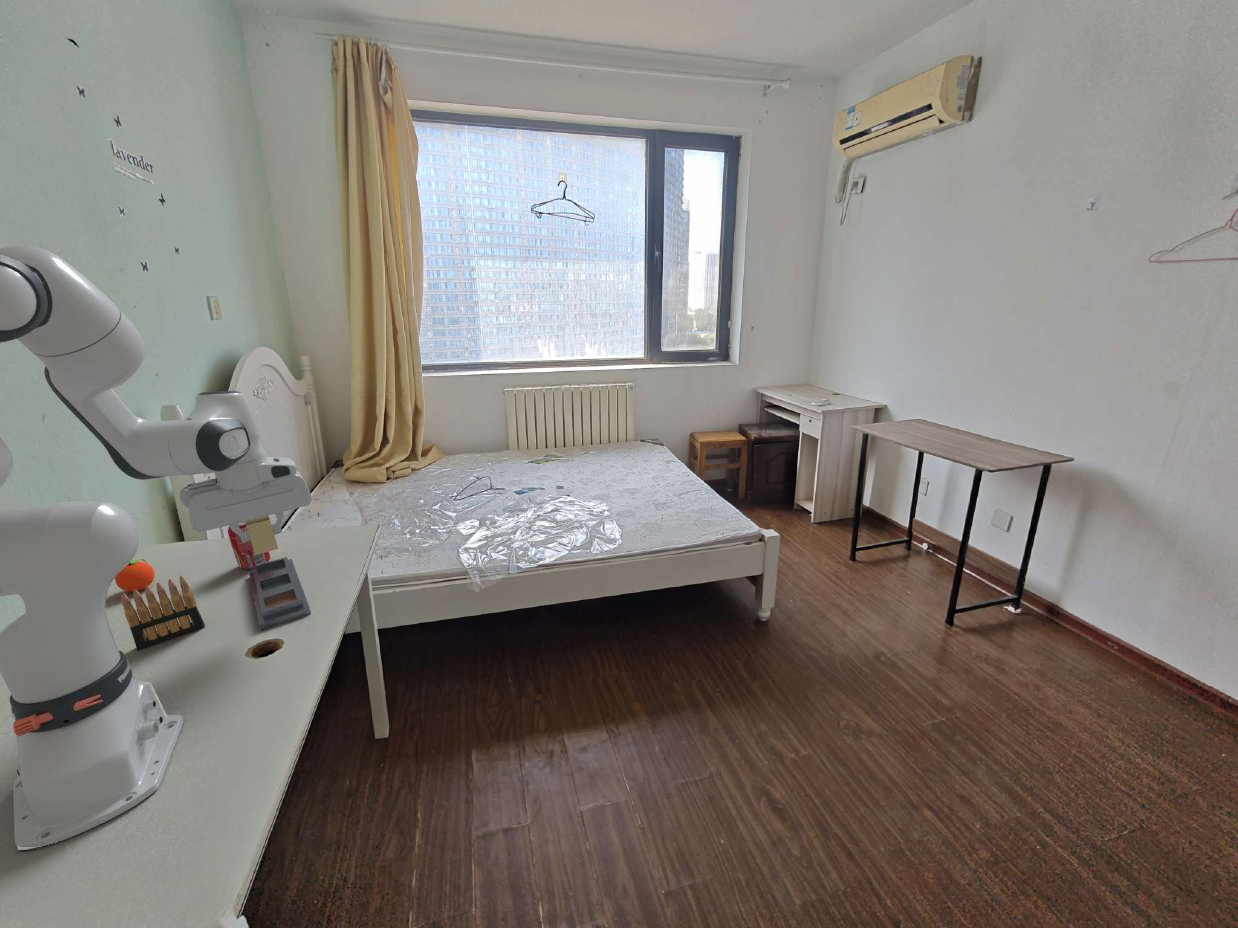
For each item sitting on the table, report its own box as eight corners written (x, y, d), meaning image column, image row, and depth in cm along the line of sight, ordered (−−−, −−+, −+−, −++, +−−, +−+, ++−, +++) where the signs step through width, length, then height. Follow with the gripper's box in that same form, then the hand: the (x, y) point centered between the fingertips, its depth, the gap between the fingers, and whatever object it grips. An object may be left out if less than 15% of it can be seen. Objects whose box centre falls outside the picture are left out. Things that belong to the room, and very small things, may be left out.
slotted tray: (311, 613, 114) (307, 600, 113) (260, 630, 109) (257, 617, 108) (293, 564, 136) (290, 553, 135) (250, 576, 131) (247, 565, 130)
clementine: (137, 581, 132) (127, 554, 130) (168, 577, 133) (159, 551, 130) (112, 599, 124) (101, 571, 122) (145, 595, 125) (135, 568, 123)
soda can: (253, 557, 141) (241, 514, 137) (278, 557, 140) (266, 514, 136) (231, 570, 134) (217, 526, 130) (257, 571, 133) (244, 526, 129)
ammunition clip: (137, 650, 105) (115, 596, 101) (137, 646, 106) (116, 592, 103) (205, 627, 111) (187, 575, 108) (204, 623, 113) (186, 572, 109)
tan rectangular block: (278, 548, 110) (269, 519, 108) (255, 555, 108) (246, 525, 106) (276, 541, 114) (267, 513, 111) (253, 547, 111) (244, 519, 109)
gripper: (175, 491, 97) (199, 559, 102) (304, 464, 109) (320, 527, 113) (177, 482, 102) (199, 547, 107) (299, 457, 114) (315, 517, 118)
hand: (262, 537), depth 110 cm, fingers closed on tan rectangular block, 4 cm apart
